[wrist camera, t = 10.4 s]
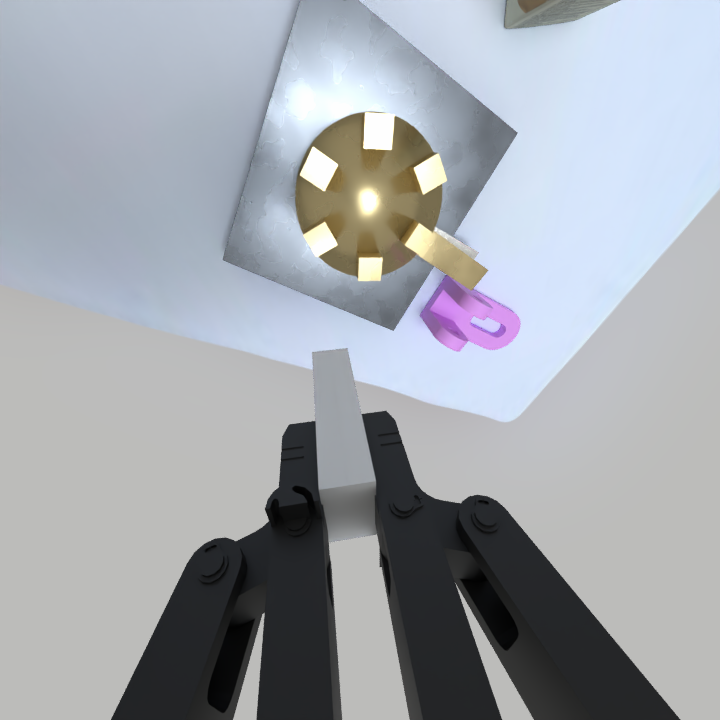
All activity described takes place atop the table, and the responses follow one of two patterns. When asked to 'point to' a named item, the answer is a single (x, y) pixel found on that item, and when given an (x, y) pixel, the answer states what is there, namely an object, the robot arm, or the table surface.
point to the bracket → (467, 317)
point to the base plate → (333, 102)
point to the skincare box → (549, 11)
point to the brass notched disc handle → (376, 200)
